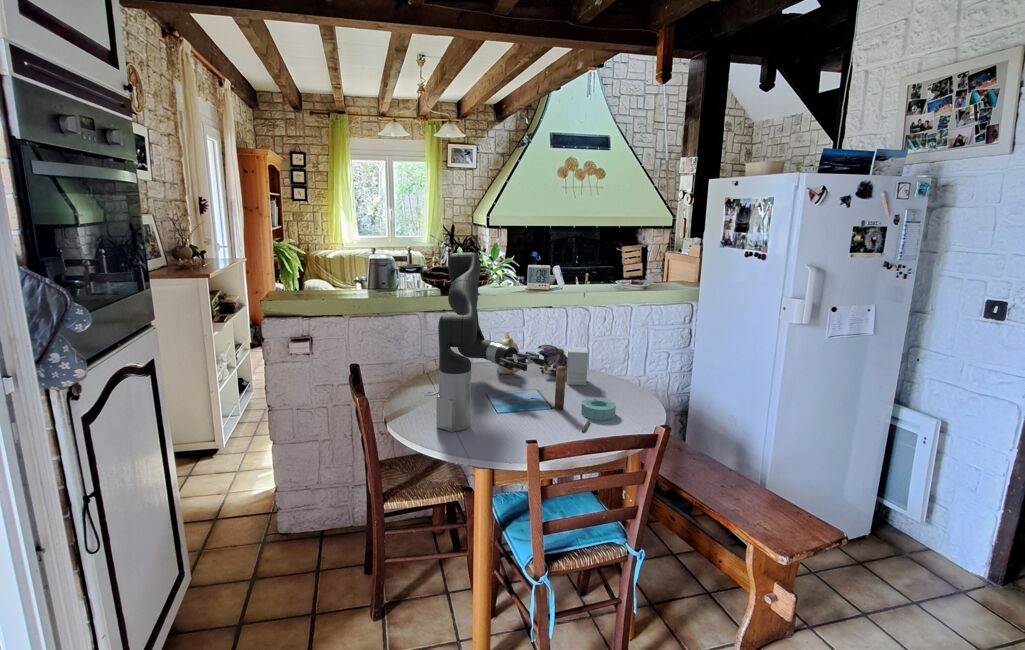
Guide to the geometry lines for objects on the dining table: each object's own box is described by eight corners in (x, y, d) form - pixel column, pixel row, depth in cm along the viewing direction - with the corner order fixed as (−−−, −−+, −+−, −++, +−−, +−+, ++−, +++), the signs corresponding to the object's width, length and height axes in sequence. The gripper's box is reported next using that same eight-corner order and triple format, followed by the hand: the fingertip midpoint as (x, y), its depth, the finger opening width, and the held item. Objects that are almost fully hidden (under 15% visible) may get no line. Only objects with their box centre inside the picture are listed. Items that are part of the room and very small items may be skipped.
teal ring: (605, 423, 171) (606, 412, 170) (575, 414, 177) (576, 404, 176) (620, 413, 179) (620, 402, 178) (590, 405, 185) (591, 395, 184)
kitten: (489, 367, 224) (490, 330, 220) (514, 366, 225) (515, 330, 222) (495, 378, 209) (496, 340, 206) (521, 378, 211) (523, 339, 208)
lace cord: (584, 432, 163) (584, 430, 163) (581, 431, 164) (581, 429, 163) (589, 422, 171) (590, 420, 170) (587, 422, 171) (587, 420, 171)
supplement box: (585, 379, 212) (587, 347, 209) (586, 385, 205) (588, 352, 202) (566, 378, 213) (568, 346, 210) (566, 384, 205) (568, 351, 203)
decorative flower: (570, 355, 209) (536, 338, 215) (557, 383, 210) (524, 365, 216) (581, 356, 222) (550, 340, 228) (569, 383, 223) (538, 366, 229)
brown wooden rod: (560, 411, 179) (563, 369, 176) (552, 408, 181) (554, 367, 178) (565, 408, 182) (567, 367, 179) (557, 406, 183) (559, 365, 180)
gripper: (487, 347, 192) (521, 358, 181) (516, 341, 202) (550, 351, 191) (486, 368, 194) (520, 380, 183) (515, 360, 204) (549, 371, 192)
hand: (535, 365), depth 187 cm, fingers open, 8 cm apart
